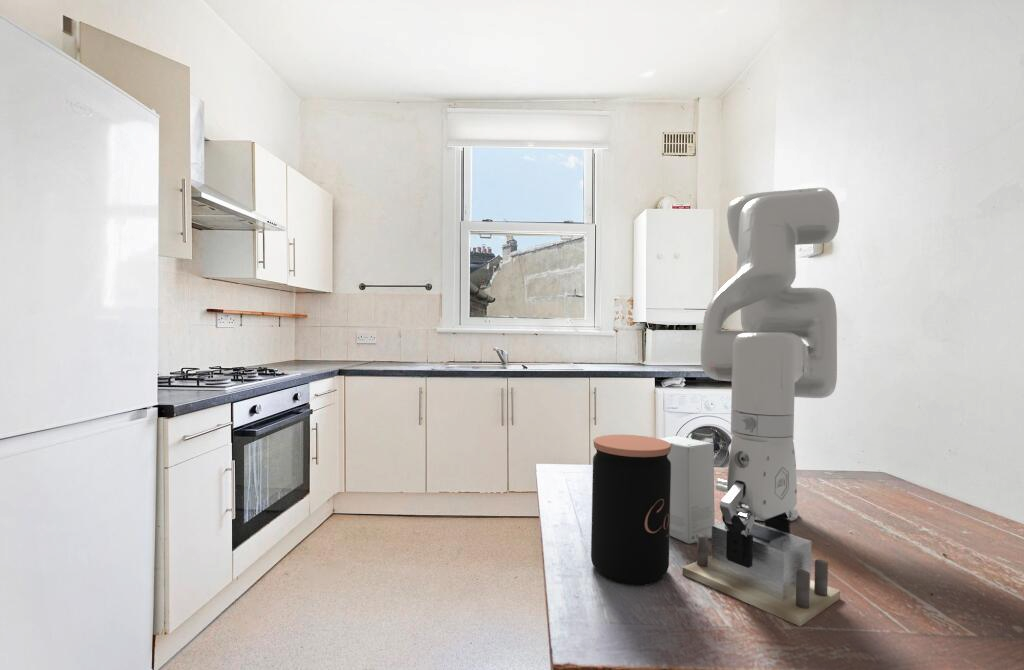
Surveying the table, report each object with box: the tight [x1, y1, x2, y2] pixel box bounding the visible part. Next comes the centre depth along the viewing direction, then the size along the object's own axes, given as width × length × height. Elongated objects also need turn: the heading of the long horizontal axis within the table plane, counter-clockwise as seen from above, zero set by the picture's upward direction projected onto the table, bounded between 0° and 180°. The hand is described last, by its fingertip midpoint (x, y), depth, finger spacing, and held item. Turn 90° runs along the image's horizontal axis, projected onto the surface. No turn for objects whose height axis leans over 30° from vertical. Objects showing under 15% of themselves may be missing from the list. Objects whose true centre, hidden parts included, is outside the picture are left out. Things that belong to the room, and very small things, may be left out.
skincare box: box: [658, 435, 716, 545], centre depth 87 cm, size 8×7×16 cm
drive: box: [710, 516, 812, 601], centre depth 69 cm, size 10×6×6 cm, turn 34°
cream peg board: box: [681, 534, 841, 627], centre depth 69 cm, size 16×11×5 cm
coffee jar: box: [590, 434, 671, 587], centre depth 73 cm, size 11×11×18 cm
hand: (758, 554), depth 69 cm, fingers open, 9 cm apart
